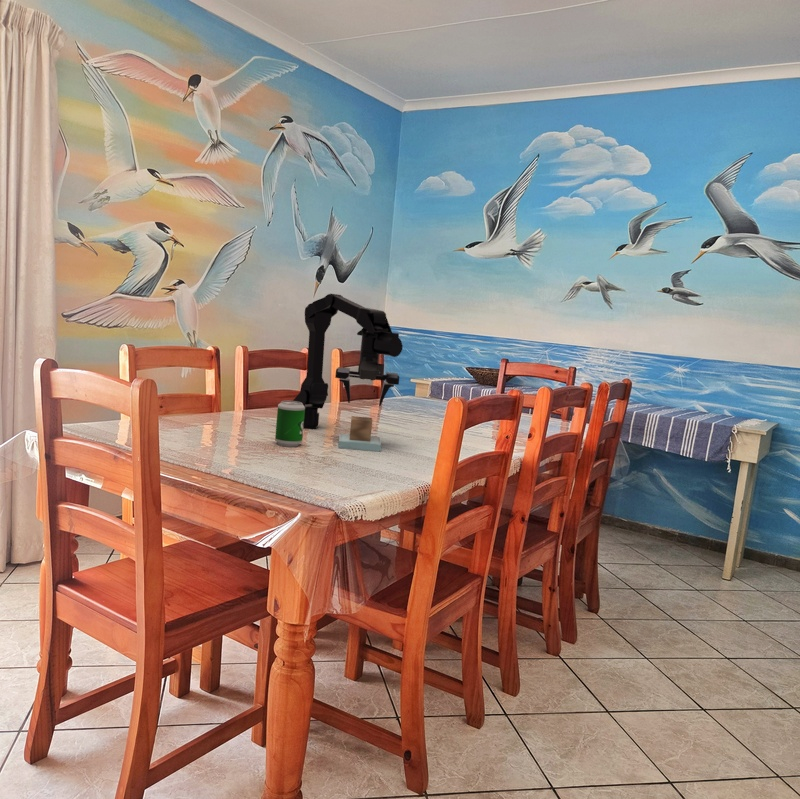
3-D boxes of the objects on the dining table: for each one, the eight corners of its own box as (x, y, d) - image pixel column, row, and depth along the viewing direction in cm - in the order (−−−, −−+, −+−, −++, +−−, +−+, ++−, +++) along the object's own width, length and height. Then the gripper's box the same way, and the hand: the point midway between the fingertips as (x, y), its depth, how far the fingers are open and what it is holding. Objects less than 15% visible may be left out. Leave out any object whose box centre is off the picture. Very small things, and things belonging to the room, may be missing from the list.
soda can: (296, 448, 190) (300, 405, 189) (270, 444, 191) (274, 402, 190) (305, 444, 197) (309, 402, 196) (280, 440, 199) (283, 399, 197)
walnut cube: (349, 439, 200) (351, 419, 199) (349, 435, 205) (351, 416, 205) (370, 441, 200) (372, 421, 199) (369, 437, 206) (371, 417, 205)
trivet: (338, 448, 197) (338, 440, 196) (339, 440, 208) (339, 433, 208) (380, 451, 197) (381, 444, 197) (378, 443, 209) (379, 436, 209)
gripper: (337, 350, 196) (331, 405, 198) (402, 358, 197) (396, 412, 199) (338, 348, 207) (333, 399, 209) (400, 355, 208) (395, 406, 210)
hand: (364, 404), depth 206 cm, fingers open, 9 cm apart
